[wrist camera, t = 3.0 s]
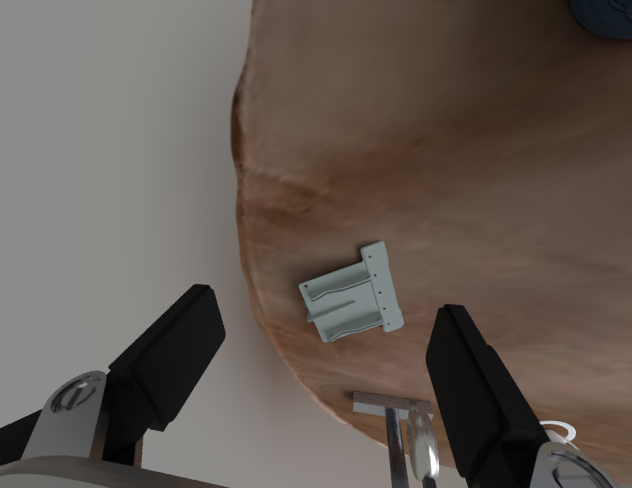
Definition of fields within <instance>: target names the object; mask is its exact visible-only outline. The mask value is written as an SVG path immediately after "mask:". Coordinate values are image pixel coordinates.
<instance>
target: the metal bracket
mask: <svg viewBox="0 0 632 488" xmlns="http://www.w3.org/2000/svg"><path fill="white" fill-rule="evenodd" d="M360 251H361V254H362V258H363V260H362V261H361V262H359V263H356V264H354V265H351V266H348V267H345V268H342V269H340V270H337V271H334V272H331V273H329V274H326V275H323V276H320V277H317V278H315V279H312V280H309V281H306V282H303V283H301V284H299V289H300V291H301V293H302V295H303V298H304V300H305V302H306V303H304V306H305V308H306V307H308V315H307V322H311V321H314V322H315V325H316V327H317V329H318V332H319V334H320V336H321V338H322V341H323V342H324V343H326V342H333V341H334V340H336V339H337V338H340V337H343V336H346V335H349V334H352V333H358V332H361V331H364V330H367V329H370V328H373V327H376V326H378V325H381V324H382V326H383V329H384V331H385V332H390V331H393V330H395V329H398V328H401V327H402V326H403V324H404V321H403V317H402V313H401V309H399V307H398V303H397V299H396V295H395V291H394V287H393V283H392V279H391V275H390V271H389V267H388V262H389V260H388V256H387V252H386V248H385V244H384V242H383V241H378V242H375V243H373V244H370V245H367V246H364V247H362V248H361V249H360ZM370 255H371V257H369V256H370ZM374 274H376V276H374ZM304 285H308V286H307V287H304ZM379 292H381V293H379ZM383 308H385V309H383ZM388 323H389V324H388ZM326 338H327V339H326Z"/></svg>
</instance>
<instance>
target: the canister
mask: <svg viewBox="0 0 632 488" xmlns="http://www.w3.org/2000/svg"><path fill="white" fill-rule="evenodd" d="M568 1H569V4H570V7H571V10H572V12H573V14H574V16H575V17H576V19H577V20H578V22H579V23H580V24H581V25H582V26H583V27H584V28H585V29H587V30H588V31H589V32H591V33H593V34H595V35H597V36H600V37H603V38H607V39H614V40H628V39H632V0H568Z"/></svg>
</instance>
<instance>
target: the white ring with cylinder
mask: <svg viewBox="0 0 632 488" xmlns="http://www.w3.org/2000/svg"><path fill="white" fill-rule="evenodd" d="M539 422H540V424H557V425H561V426H563V427H565V428H566V429H567V430H568V432H569V434H568V436H567V437H566V438H564V437H562V436H560V435H558V434H557V433H556V432H555V431H553V430H545V432H546V433H547V435H548V436H549V438H550V440H551V441H552V442H560V443H563V444H565V443H566V442H568V443H570V444H571V445H572V446H573V447H574V448H575V449H577V450H579V449H578V448H577V447H576V446H575V445H574V444H573V443H571V442H570V440H572V439H573V438H574V437H575V435H576V431H575V429H574V428H573V427H572V426H571V425H569V424H566V423H564V422H559V421H539ZM561 438H562V439H561Z"/></svg>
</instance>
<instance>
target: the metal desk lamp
mask: <svg viewBox="0 0 632 488" xmlns="http://www.w3.org/2000/svg"><path fill="white" fill-rule="evenodd" d="M353 411H356V412H362V413H369V414H375V415H381V416H385V418H386V428H387V439H388V449H389V459H390V470H391V481H392V488H409V483H408V477H407V469H406V462H405V455H404V448H403V441H402V434H401V427H400V420H399V418H400V419H406V420H407V439H408V449H409V456H410V462H411V466H412V470H413V473H414V476H415V478H416V479H417V480H419V481H422V483H423V488H436V484H435V483H436V482H437V480H438V474H439V459H438V449H437V442H436V437H435V433H434V429H433V425H432V422H431V421H432V418H433V415H434V413H433V409H432V405H431V402H425V401H418V400H414V399H405V398H398V397H391V396H384V395H377V394H371V393H364V392H357V391H354V396H353Z"/></svg>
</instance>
